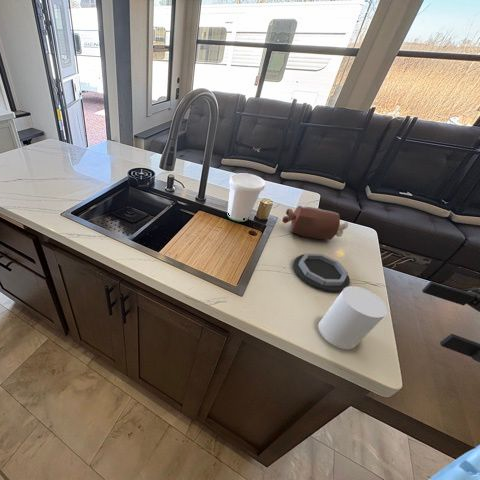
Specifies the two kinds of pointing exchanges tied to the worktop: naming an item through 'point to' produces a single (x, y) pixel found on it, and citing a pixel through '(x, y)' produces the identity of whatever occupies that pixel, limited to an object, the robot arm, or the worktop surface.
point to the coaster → (321, 272)
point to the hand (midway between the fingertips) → (435, 310)
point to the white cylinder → (352, 317)
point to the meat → (315, 222)
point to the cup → (243, 195)
